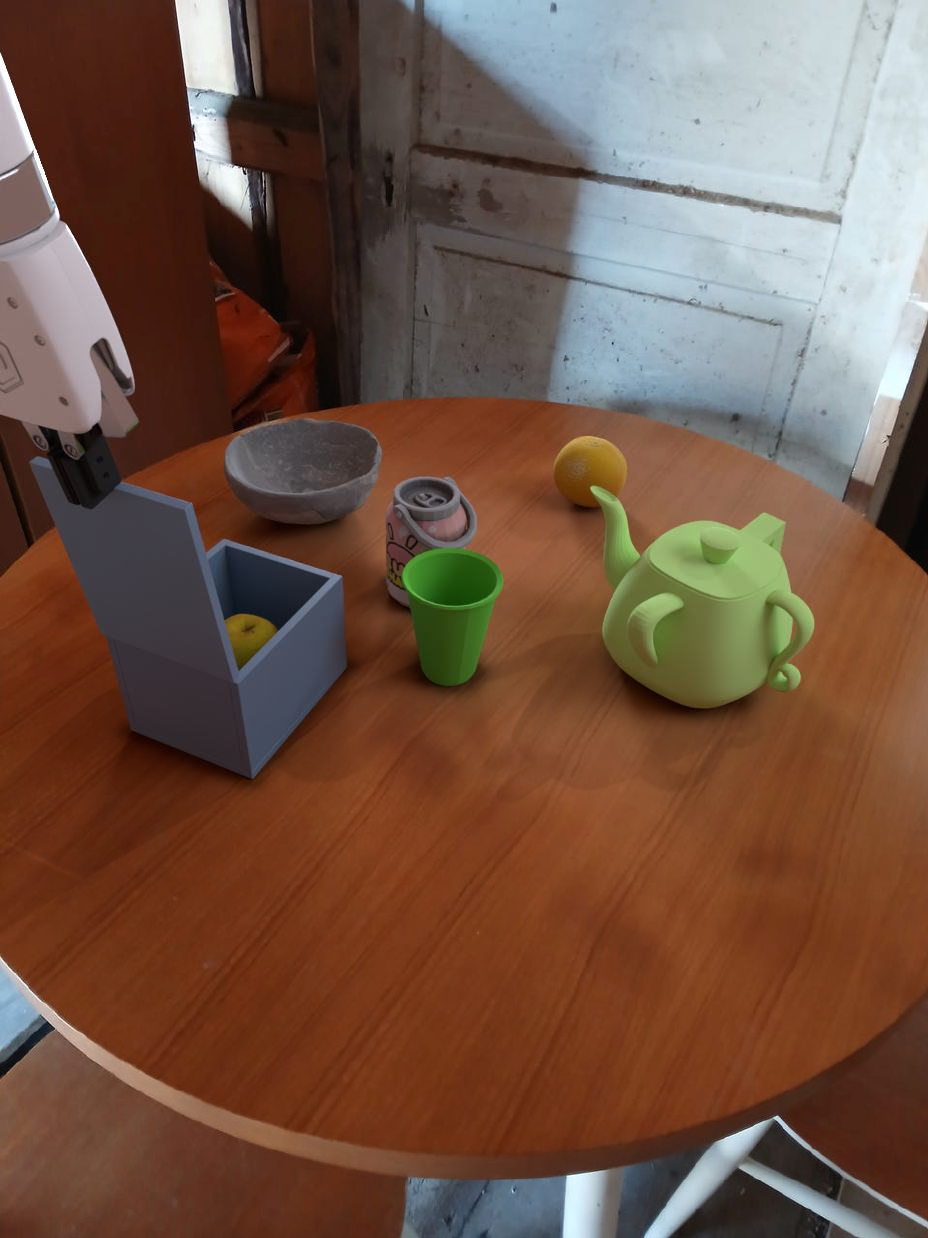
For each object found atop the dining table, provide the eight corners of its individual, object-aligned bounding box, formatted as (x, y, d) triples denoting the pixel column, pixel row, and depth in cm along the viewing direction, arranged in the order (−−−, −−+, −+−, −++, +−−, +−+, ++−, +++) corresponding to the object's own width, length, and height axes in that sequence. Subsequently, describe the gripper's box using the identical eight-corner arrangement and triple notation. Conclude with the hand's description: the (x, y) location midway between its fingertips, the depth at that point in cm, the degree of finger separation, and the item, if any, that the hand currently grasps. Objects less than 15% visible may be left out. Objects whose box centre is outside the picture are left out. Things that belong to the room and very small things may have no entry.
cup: (474, 630, 91) (480, 540, 84) (510, 689, 85) (519, 596, 78) (389, 649, 88) (388, 556, 82) (419, 711, 82) (421, 616, 75)
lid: (37, 455, 60) (28, 462, 60) (192, 502, 56) (184, 510, 56) (107, 627, 72) (100, 634, 71) (240, 676, 68) (234, 683, 68)
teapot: (807, 727, 82) (857, 603, 73) (589, 718, 82) (612, 592, 73) (758, 602, 97) (795, 485, 88) (573, 593, 97) (591, 475, 88)
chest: (236, 628, 90) (223, 538, 83) (347, 667, 86) (342, 575, 79) (130, 730, 79) (105, 635, 72) (252, 779, 75) (237, 684, 68)
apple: (280, 713, 80) (272, 644, 75) (208, 708, 80) (195, 639, 75) (294, 665, 85) (287, 597, 80) (226, 661, 85) (215, 593, 80)
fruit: (624, 489, 114) (635, 432, 109) (617, 523, 108) (627, 463, 103) (556, 478, 116) (563, 421, 111) (544, 510, 110) (551, 451, 105)
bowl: (198, 525, 104) (188, 463, 99) (285, 459, 117) (279, 402, 112) (333, 568, 98) (329, 505, 93) (408, 494, 111) (408, 435, 106)
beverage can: (487, 592, 96) (494, 495, 89) (435, 629, 91) (438, 529, 84) (422, 558, 101) (423, 463, 93) (369, 592, 95) (366, 493, 88)
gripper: (-203, 209, 44) (-35, 500, 57) (33, 259, 39) (155, 562, 53) (-83, 152, 48) (46, 434, 62) (141, 190, 44) (228, 486, 57)
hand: (96, 492), depth 57 cm, fingers closed
